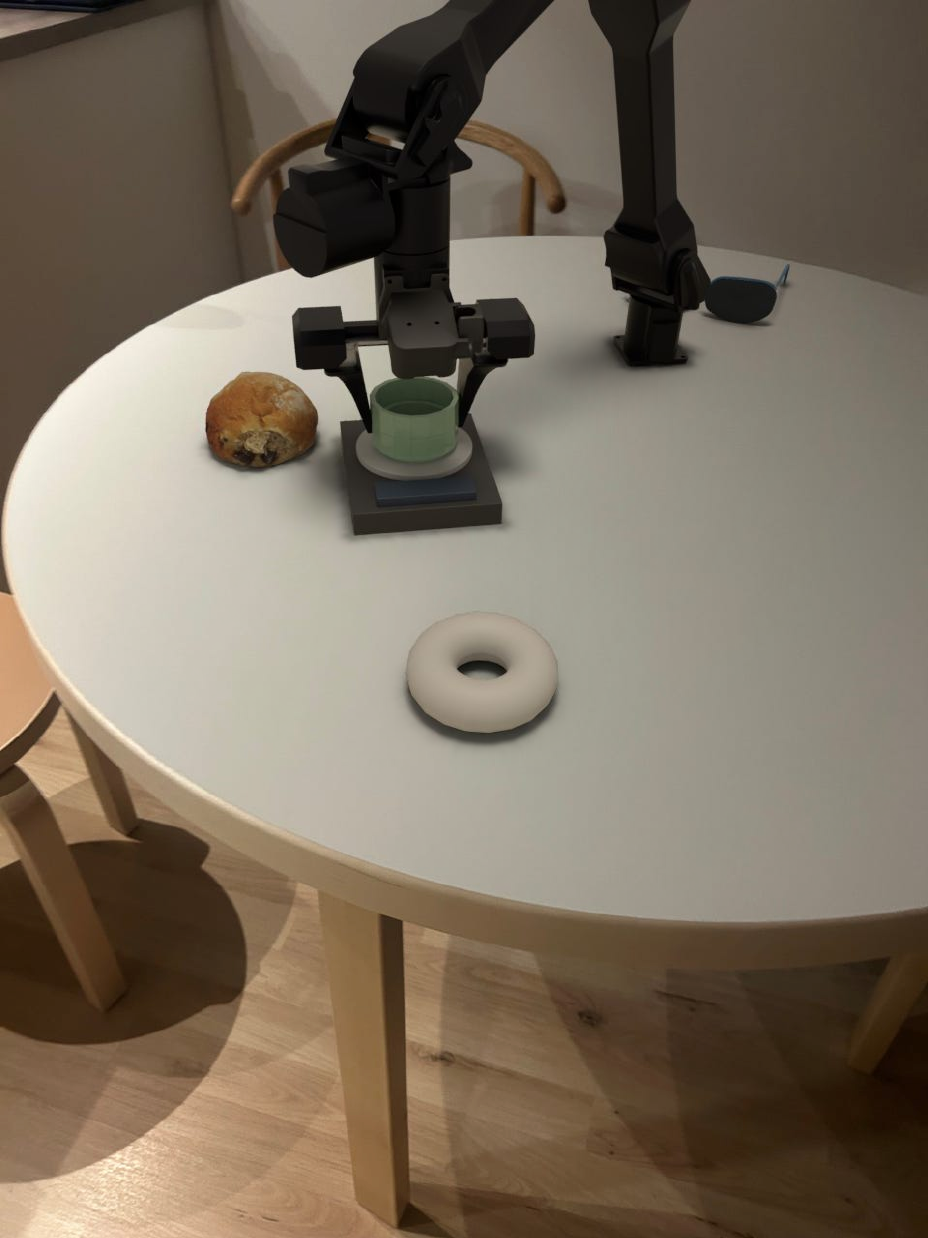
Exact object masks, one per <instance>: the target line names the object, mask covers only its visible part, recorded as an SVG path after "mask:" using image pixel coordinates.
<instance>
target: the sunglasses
mask: <svg viewBox="0 0 928 1238" xmlns="http://www.w3.org/2000/svg"><path fill="white" fill-rule="evenodd" d="M790 268H791V265H790V264H789V263H787V264H786V265H785V266H784V269H783V270H782V273H781V274H780V276H779V278H778V281H777V283H776V285H775V284H774V283H773V282H770V281H768V280H763V279H758V278H751V277H742V276H729V275H727V276H726V275H723V276H722V275H721V276H718V277H716V278H714V279H712V280H711V283H710V286H709V289H708V293H707V295H706V297H705V300H704V301H703V303H704V305H705V308H706V310H707V311H708V312H710V313H711V314H712V315H714V316H716V317H717V318H719V319H721V320H723V321H726V322H730V323H736V324H751V323H756V322H759V321H762V320H764V319H766V318H767V317H768V316H769V315H770V314H771V313H772V312H773V310H774V307H775V304H776V302H777V298H778V293H777V290H778V287H779V286H780V284H781V282H782V281H783V283H782V285H784V286H785V285H786V282H787V278H788V275H789V271H790ZM628 295H629V296H630V294H628Z"/></svg>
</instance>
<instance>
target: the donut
mask: <svg viewBox="0 0 928 1238" xmlns="http://www.w3.org/2000/svg"><path fill="white" fill-rule="evenodd" d="M474 661H475V662H476V661H482V662H483V661H484V662H491V663H494V664H497V665H499V666H501V667H502V668H504V669H505V671H506V672H505V673H504V674H503V675H501V676H498V677H495V678H490V679H479V678H473V677H470V676H466V675H465V674H463V673H462V672H460V671H459V670H458V668H460V667H461V666H462V665H465V664H466V663H469V662H474ZM404 672H405V673H404V674H405V678H406V681H407V684H408V688H409V691H410V695H411V697H412V698H413V699H414V701H416V702H417V703H418V705H419V706H420V707H421V709H422V710H423V711H424V713H425V714H426V715H428V716H430V717H431V718H433V719H434V720H436V721H438V722H439V723H441V724H442V725H445V726H447V727H450V728H454V729H456V730H461V731H463V732H470V733H471V732H472V733H482V734H483V733H485V734H491V733H496V732H502V731H503V732H504V731H508V730H509V731H510V730H513V729H515V728H518V727H519V726H521V725H524V724H526V723H528V722H531V721H532V720H533V719H534V718H535V717H536V716H538V714H540V713H541V712H542V711H543V710H544V709H545V708H546V707H547V706H548V705H549V704H550V703H551V700H552V698H553V696H554V694H555V692H556V690H557V687H558V684H559V665H558V659H557V657H556V655H555V652H554V651H553V648H552V646H551V644H550V643H549V641H548V640H547V639H546V637H544V636H543V635H542V633H540V632H539V631H538V630H537V629H536V628H535V627H533V626H531V625H529V624H528V623H526V622H524V621H522V620H520V619H519V618H516V617H514V616H510V615H507V614H504V613H500V612H492V611H478V610H477V611H469V612H462V613H455V614H453V615H450V616H448V617H446V618H443V619H440V620H438V621H436V622H434V623H433V624H431V625H430V626H429V627H428V628H426V629H425V630H423V631H422V632H421V633H420V634H419V635H418V637H417V639H416V640H415V641H414V643H413V645H412V646H411V648H410V649H409V650H408V655H407V660H406V667H405V671H404Z"/></svg>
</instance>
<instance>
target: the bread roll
mask: <svg viewBox="0 0 928 1238" xmlns="http://www.w3.org/2000/svg"><path fill="white" fill-rule="evenodd" d="M204 420H205V424H204V425H205V427H204V428H205V429H204V430H205V435H206V440H207V443H208V446H209V447H210V449H211V451H212V452H213V453H214V454H215V455H216V456H217V457H218V458H220V459H221V460H222V461H225V462H228V463H231V464H235V465H239V466H241V467H252V468H262V467H271V466H274V465H275V466H276V465H279V464H283V463H286V462H289V461H291V460H293V459H295V458H297V457H301V456H302V455H304V454H306V453H307V452H308V449H309V448H311V447H313V445H314V443H315V442H316V437H317V429H318V425H319V413H318V410H317V408H316V406H315V404H314V403H313V401H312V400H311V398H310V397H309V396H308V395H307V394H306V393H305V391H304V390H303V389H302V388H301V387H300V386H299V385H297V384H296V383H295V382H293V381H291V380H290V379H289V378H287V377H285V376H283V375H280V374H278V373H273V372H268V371H241V372H240V373H239V374H237V376H236V377H235V378H234V379H232V380H230V381H229V382H228V383H227V384H226V385H224V386H223V388H222V389H220V390H219V392H217V393H215V394H213V396H212V397H211V398H210V400H209V404H208V405H207V408H206V412H205V419H204Z"/></svg>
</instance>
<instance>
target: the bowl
mask: <svg viewBox="0 0 928 1238" xmlns="http://www.w3.org/2000/svg"><path fill="white" fill-rule="evenodd" d="M369 406H370V411H371V417H372V433H371V436H372V442H373V446H374V447H375V448H376V449H377V450H379V451H380V452H381V453H383V454H384V455H386V456H387V457H389V458H391V459H394V460H397V461H401V462H409V463H421V462H428V461H432V460H435V459H438V458H440V457H442V456H444V455H445V454H446V453H448V452H449V451H451V450H452V449H453V448H454V447H455V445H456V443H457V441H458V419H459V397H458V394H457V388H455V387H453V386H452V385H451V384H450V383H449V382H447V381H443V380H441V379H438V378H436V377H432V376H425V377H414V378H413V379H400V378H397V377H394V378H391V379H387V380H384V381H383V382H381V383H379V384H377V385H376V386H374V387H373V389H372V390H371V391H370V393H369Z"/></svg>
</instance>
